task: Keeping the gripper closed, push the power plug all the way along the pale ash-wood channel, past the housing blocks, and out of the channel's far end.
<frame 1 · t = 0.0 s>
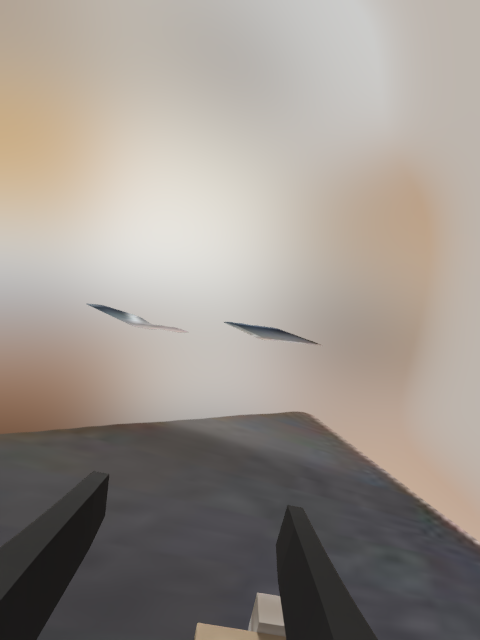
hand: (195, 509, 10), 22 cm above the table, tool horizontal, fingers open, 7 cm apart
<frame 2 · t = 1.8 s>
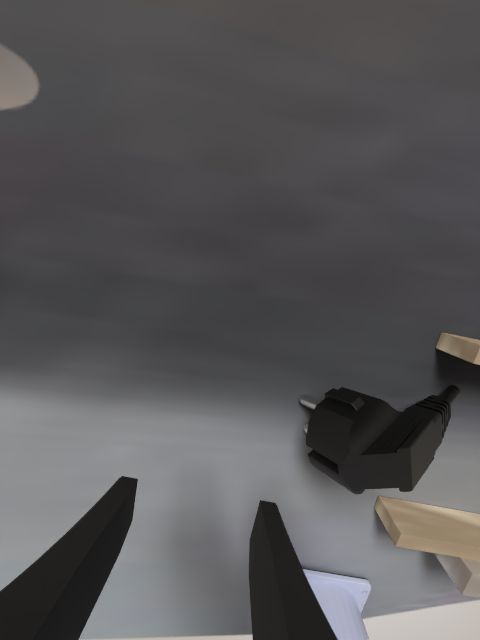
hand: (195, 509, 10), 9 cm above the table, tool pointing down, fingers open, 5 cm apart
power plug: (371, 399, 19), on the table
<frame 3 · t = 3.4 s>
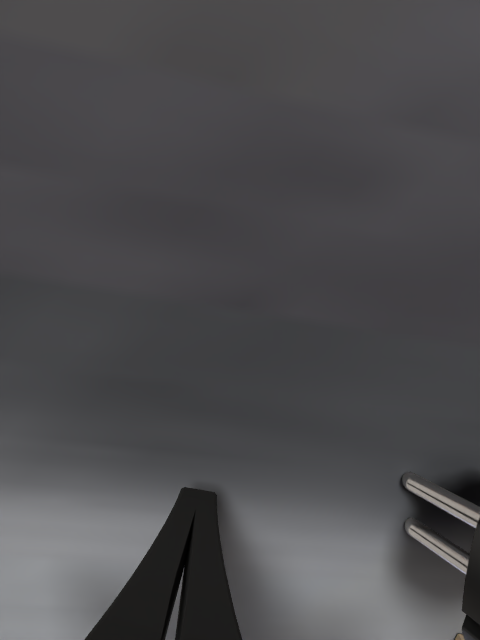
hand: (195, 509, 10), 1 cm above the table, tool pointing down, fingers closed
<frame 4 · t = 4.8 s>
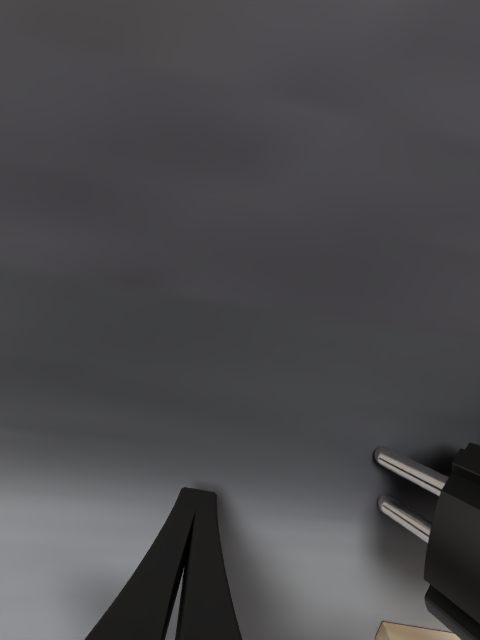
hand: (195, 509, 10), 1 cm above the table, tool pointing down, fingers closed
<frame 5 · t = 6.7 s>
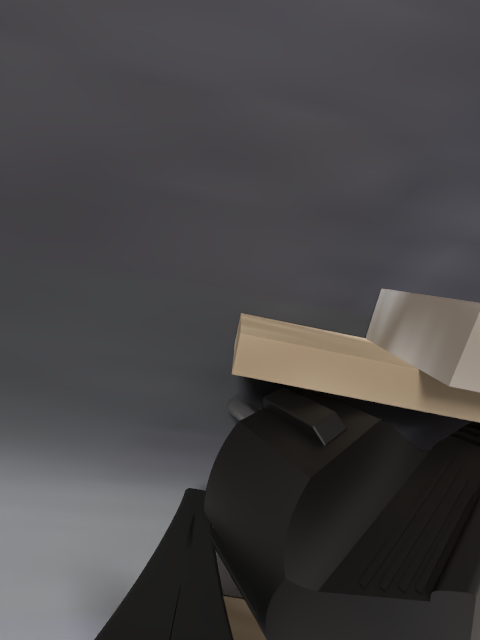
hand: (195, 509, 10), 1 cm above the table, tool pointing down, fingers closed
power plug: (360, 414, 11), on the table, touching gripper
guide channel: (396, 515, 11), on the table
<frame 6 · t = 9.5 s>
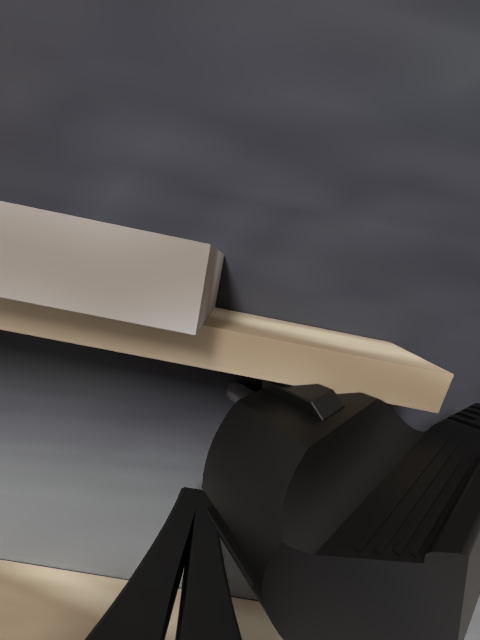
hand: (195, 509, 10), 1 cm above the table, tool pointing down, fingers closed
power plug: (358, 402, 11), on the table
guide channel: (140, 469, 11), on the table
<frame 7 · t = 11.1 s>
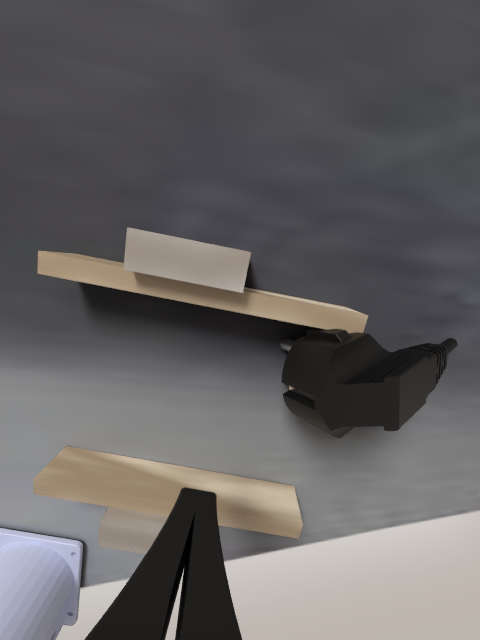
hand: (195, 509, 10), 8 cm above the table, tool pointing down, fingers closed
power plug: (359, 350, 17), on the table
guide channel: (194, 389, 18), on the table
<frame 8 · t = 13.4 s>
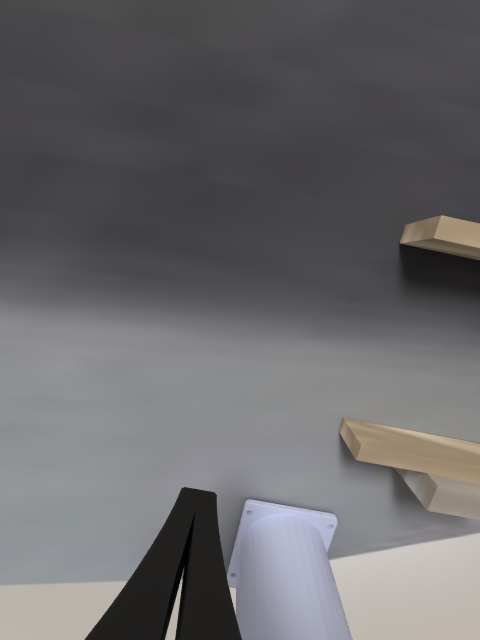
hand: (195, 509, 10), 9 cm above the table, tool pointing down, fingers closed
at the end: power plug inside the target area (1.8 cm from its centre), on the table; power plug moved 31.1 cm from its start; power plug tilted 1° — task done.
